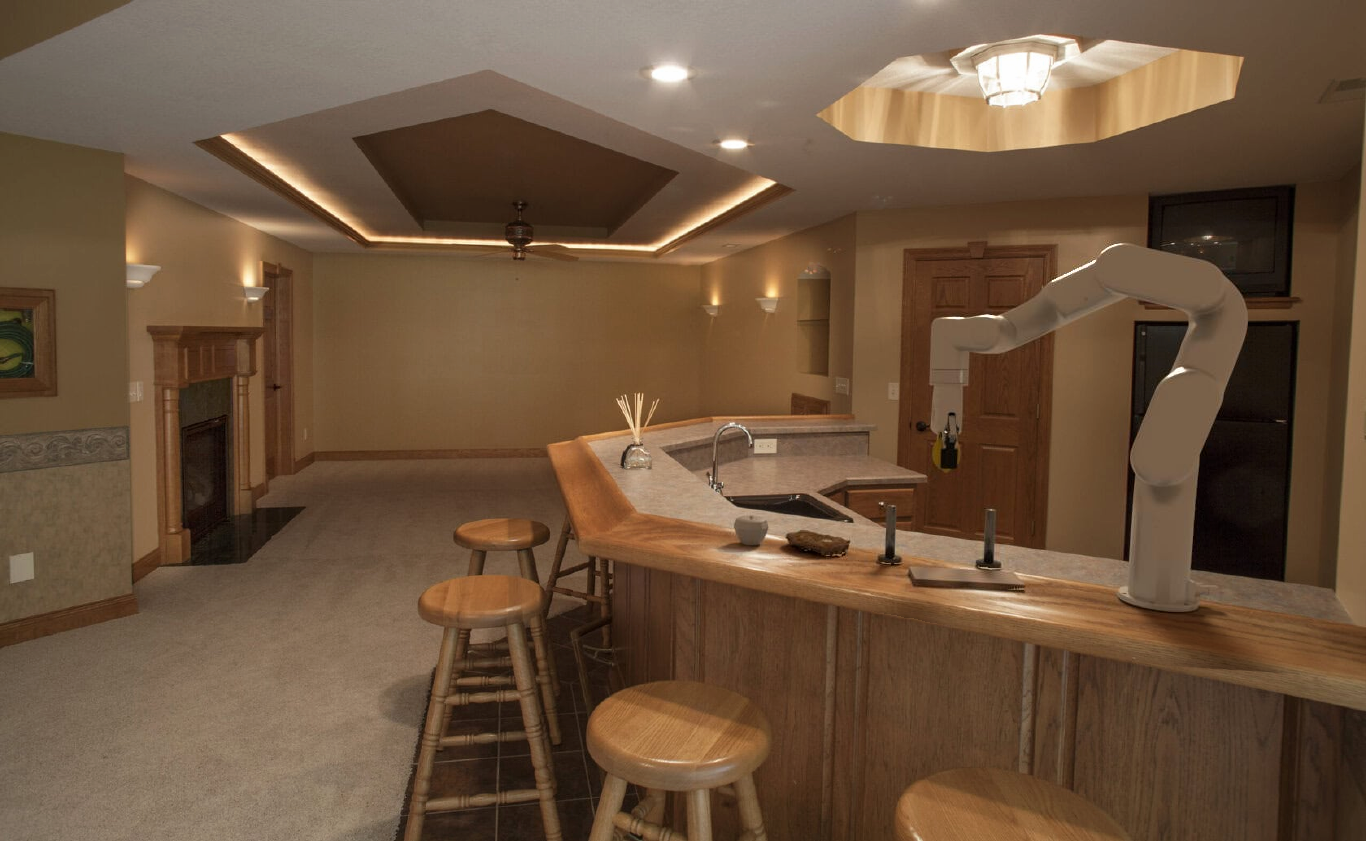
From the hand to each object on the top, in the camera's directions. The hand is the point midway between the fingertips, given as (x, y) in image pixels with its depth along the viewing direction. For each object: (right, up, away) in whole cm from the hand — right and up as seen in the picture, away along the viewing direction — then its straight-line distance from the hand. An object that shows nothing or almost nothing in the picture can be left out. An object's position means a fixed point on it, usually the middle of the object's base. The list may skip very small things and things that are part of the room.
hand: (946, 465), depth 166 cm
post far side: (-10, -21, +5) cm, 24 cm away
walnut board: (+1, -22, -9) cm, 24 cm away
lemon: (0, -2, 0) cm, 2 cm away
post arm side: (+9, -21, +2) cm, 23 cm away
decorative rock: (-25, -20, +15) cm, 35 cm away
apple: (-39, -19, +19) cm, 47 cm away
